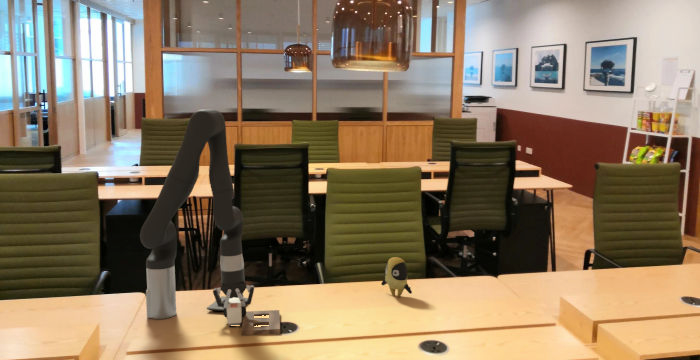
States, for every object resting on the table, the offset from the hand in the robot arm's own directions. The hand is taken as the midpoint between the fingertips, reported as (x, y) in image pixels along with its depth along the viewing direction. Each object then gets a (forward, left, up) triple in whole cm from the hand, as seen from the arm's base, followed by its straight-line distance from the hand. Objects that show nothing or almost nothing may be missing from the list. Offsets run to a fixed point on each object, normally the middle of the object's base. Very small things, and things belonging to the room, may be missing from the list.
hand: (235, 317), depth 200 cm
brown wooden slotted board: (+8, -4, -2) cm, 10 cm away
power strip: (0, 0, -1) cm, 1 cm away
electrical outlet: (-4, +15, -2) cm, 16 cm away
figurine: (+58, +19, -2) cm, 62 cm away
